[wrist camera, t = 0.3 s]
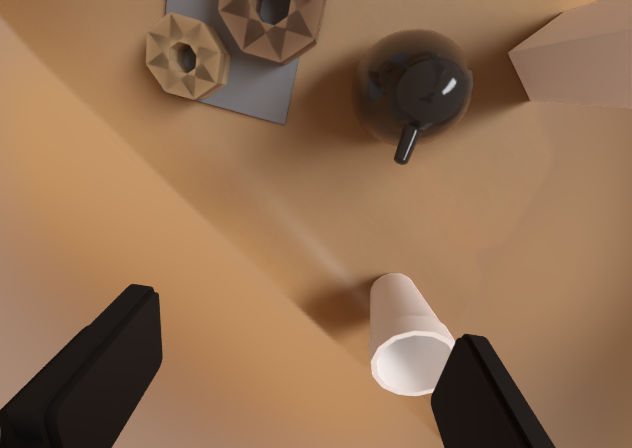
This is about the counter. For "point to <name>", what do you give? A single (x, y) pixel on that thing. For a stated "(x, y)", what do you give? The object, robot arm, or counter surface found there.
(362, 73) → the pump dispenser
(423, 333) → the foam cup
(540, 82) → the milk
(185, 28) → the oak bead
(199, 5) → the mat
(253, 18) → the bead
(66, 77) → the counter surface
